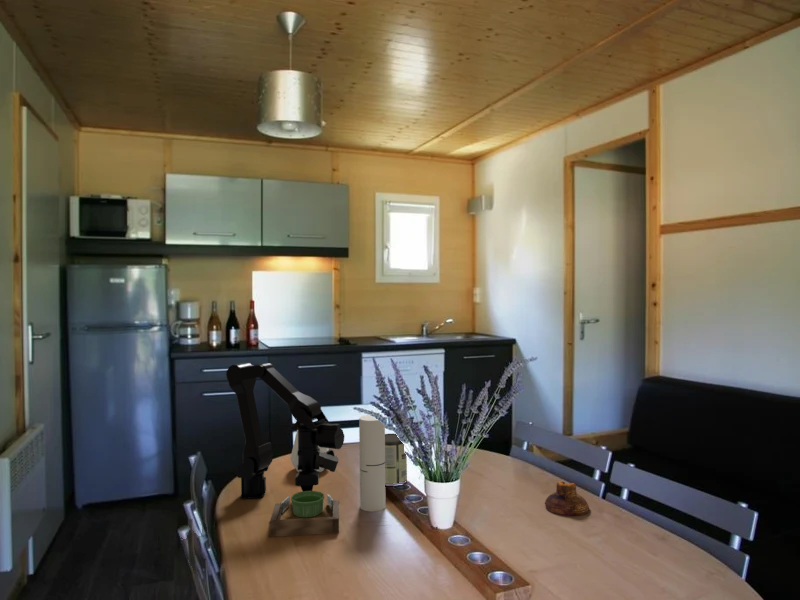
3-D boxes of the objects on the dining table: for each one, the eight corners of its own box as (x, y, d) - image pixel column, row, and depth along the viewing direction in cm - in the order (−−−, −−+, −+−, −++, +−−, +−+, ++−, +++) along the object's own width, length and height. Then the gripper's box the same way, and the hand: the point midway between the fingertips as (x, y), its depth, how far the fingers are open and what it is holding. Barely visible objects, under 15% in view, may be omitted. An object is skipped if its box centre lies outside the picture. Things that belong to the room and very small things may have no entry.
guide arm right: (335, 511, 153) (335, 500, 153) (332, 512, 152) (332, 501, 152) (329, 504, 158) (329, 493, 158) (326, 504, 158) (326, 494, 158)
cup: (283, 474, 185) (282, 432, 185) (301, 462, 198) (301, 423, 198) (320, 477, 181) (319, 434, 181) (336, 465, 194) (336, 425, 194)
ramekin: (308, 503, 159) (308, 488, 159) (331, 510, 153) (331, 495, 153) (284, 513, 152) (284, 497, 152) (306, 521, 146) (306, 504, 146)
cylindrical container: (382, 512, 152) (381, 421, 152) (357, 510, 153) (356, 420, 153) (388, 502, 159) (387, 415, 159) (363, 501, 160) (363, 414, 160)
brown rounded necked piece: (535, 505, 156) (535, 479, 156) (567, 498, 162) (567, 473, 162) (565, 520, 146) (565, 492, 146) (598, 512, 151) (598, 485, 151)
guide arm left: (282, 514, 151) (282, 503, 151) (279, 514, 151) (279, 503, 151) (290, 506, 157) (290, 495, 157) (287, 506, 157) (287, 495, 157)
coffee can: (377, 476, 182) (376, 433, 182) (408, 476, 181) (408, 433, 181) (372, 486, 172) (372, 441, 172) (405, 487, 171) (405, 442, 171)
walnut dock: (269, 536, 137) (269, 522, 137) (275, 516, 150) (275, 503, 150) (338, 532, 139) (338, 518, 139) (338, 513, 152) (338, 500, 152)
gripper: (336, 453, 150) (337, 511, 151) (336, 436, 169) (337, 487, 169) (294, 455, 149) (295, 513, 149) (299, 437, 168) (299, 488, 168)
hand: (308, 499), depth 159 cm, fingers closed
